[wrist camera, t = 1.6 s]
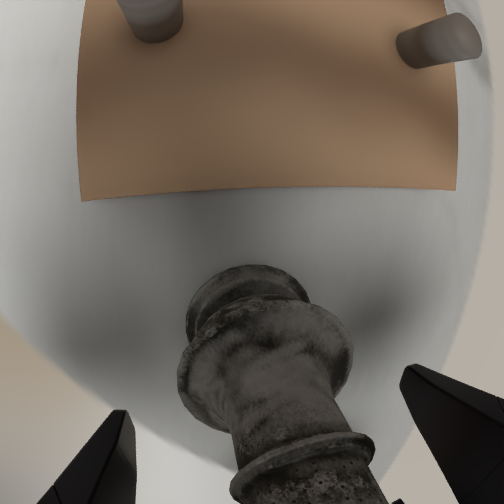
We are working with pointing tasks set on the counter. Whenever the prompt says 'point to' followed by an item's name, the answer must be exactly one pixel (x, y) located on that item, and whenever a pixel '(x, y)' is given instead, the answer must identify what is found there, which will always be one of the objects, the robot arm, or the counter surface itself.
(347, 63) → the peg board
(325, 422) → the dark grey turned piece
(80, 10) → the counter surface
